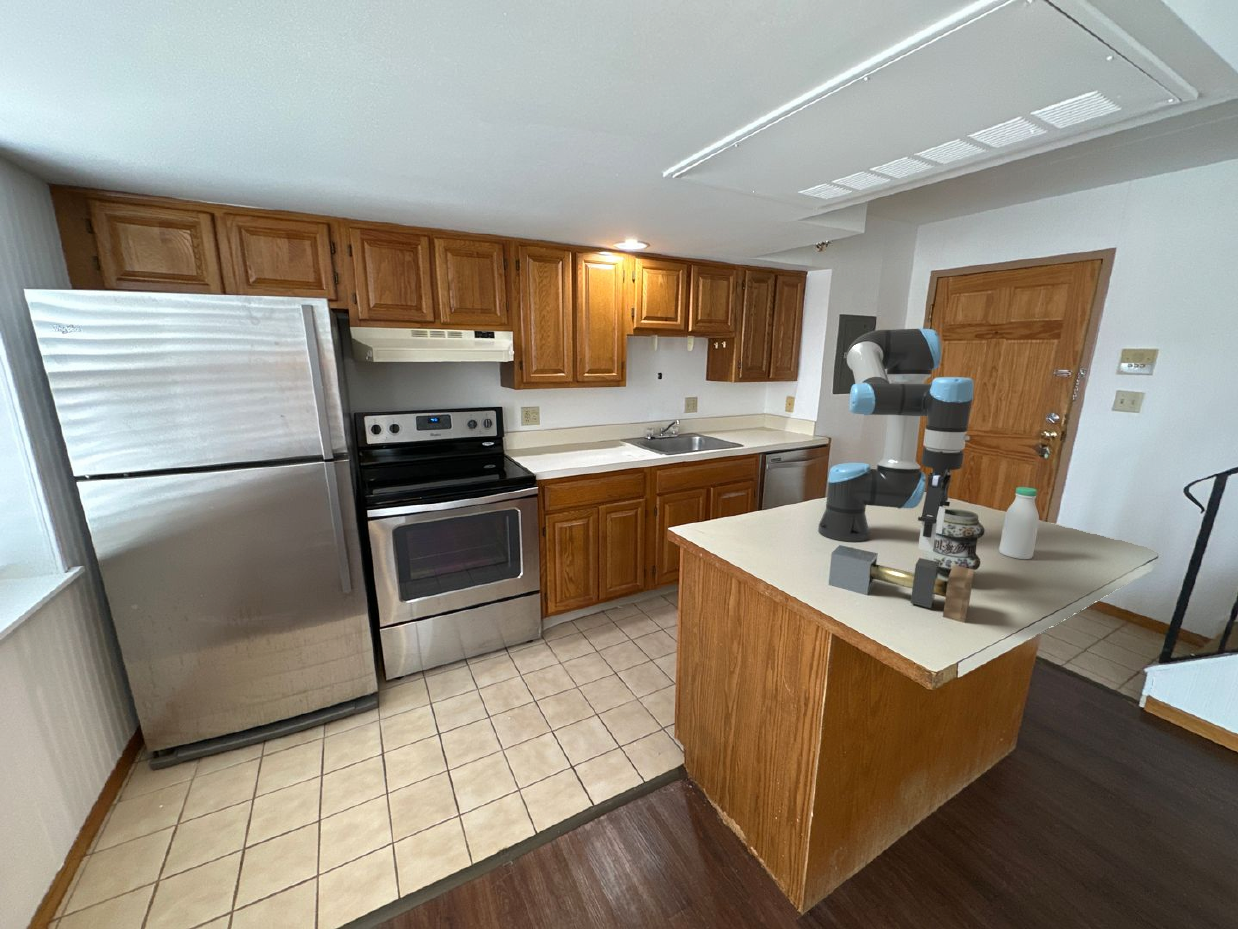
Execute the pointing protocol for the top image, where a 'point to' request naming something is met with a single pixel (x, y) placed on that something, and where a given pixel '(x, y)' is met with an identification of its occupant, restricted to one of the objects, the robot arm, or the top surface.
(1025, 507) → the milk bottle
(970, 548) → the apothecary jar
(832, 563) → the sleeve
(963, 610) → the socket block
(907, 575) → the tube
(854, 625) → the top surface
